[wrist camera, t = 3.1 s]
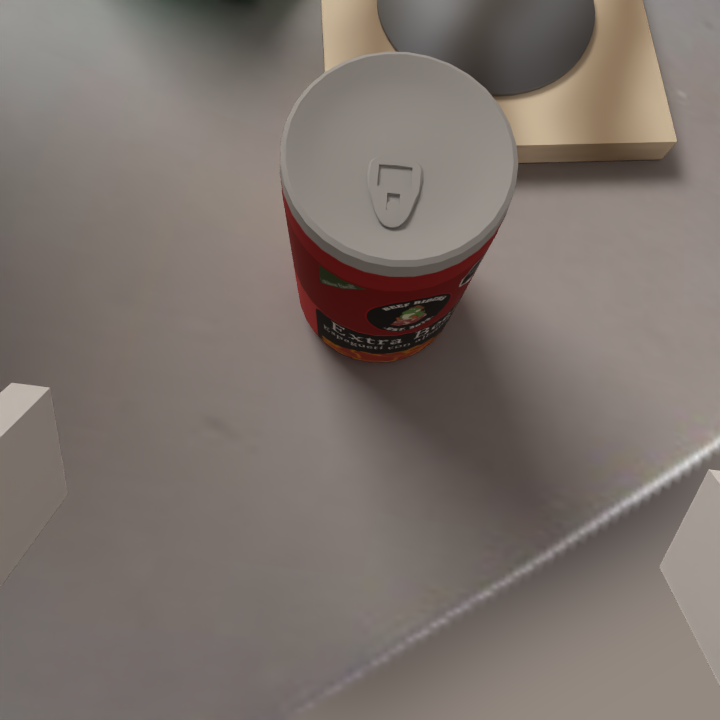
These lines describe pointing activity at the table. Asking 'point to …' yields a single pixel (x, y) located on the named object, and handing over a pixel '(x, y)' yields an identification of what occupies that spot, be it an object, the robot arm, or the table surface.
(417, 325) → the canned food
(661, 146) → the wooden square board
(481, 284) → the table surface
